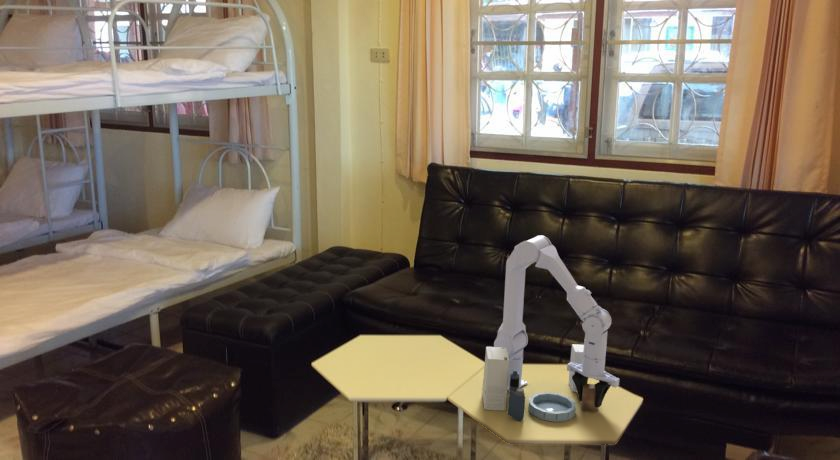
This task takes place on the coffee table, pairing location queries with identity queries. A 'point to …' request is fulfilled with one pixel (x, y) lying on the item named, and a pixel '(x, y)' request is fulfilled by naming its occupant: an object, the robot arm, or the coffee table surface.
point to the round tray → (552, 407)
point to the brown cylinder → (588, 398)
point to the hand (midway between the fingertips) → (590, 403)
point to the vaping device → (516, 398)
